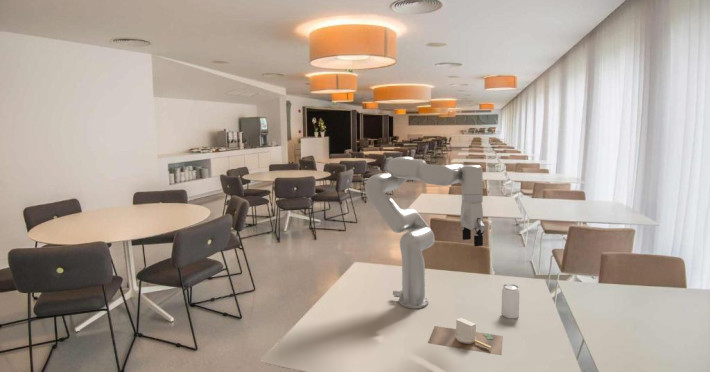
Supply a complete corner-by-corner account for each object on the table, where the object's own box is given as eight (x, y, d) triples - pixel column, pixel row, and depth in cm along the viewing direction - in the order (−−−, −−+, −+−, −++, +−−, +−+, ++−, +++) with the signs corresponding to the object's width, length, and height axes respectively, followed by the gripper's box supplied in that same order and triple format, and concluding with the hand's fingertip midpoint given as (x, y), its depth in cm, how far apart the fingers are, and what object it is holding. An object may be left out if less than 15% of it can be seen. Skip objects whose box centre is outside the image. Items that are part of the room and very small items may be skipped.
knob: (451, 338, 147) (451, 321, 147) (463, 331, 152) (463, 315, 151) (484, 353, 137) (485, 335, 136) (496, 346, 141) (497, 328, 141)
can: (520, 319, 164) (521, 290, 162) (502, 318, 165) (503, 289, 163) (517, 312, 170) (518, 284, 168) (500, 311, 171) (501, 283, 170)
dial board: (427, 346, 146) (427, 342, 145) (434, 329, 158) (434, 325, 157) (501, 359, 137) (501, 354, 137) (502, 340, 149) (502, 335, 149)
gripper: (453, 195, 166) (453, 238, 168) (473, 202, 149) (473, 249, 151) (470, 194, 167) (471, 236, 169) (493, 200, 150) (493, 247, 152)
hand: (472, 242), depth 160 cm, fingers open, 9 cm apart
